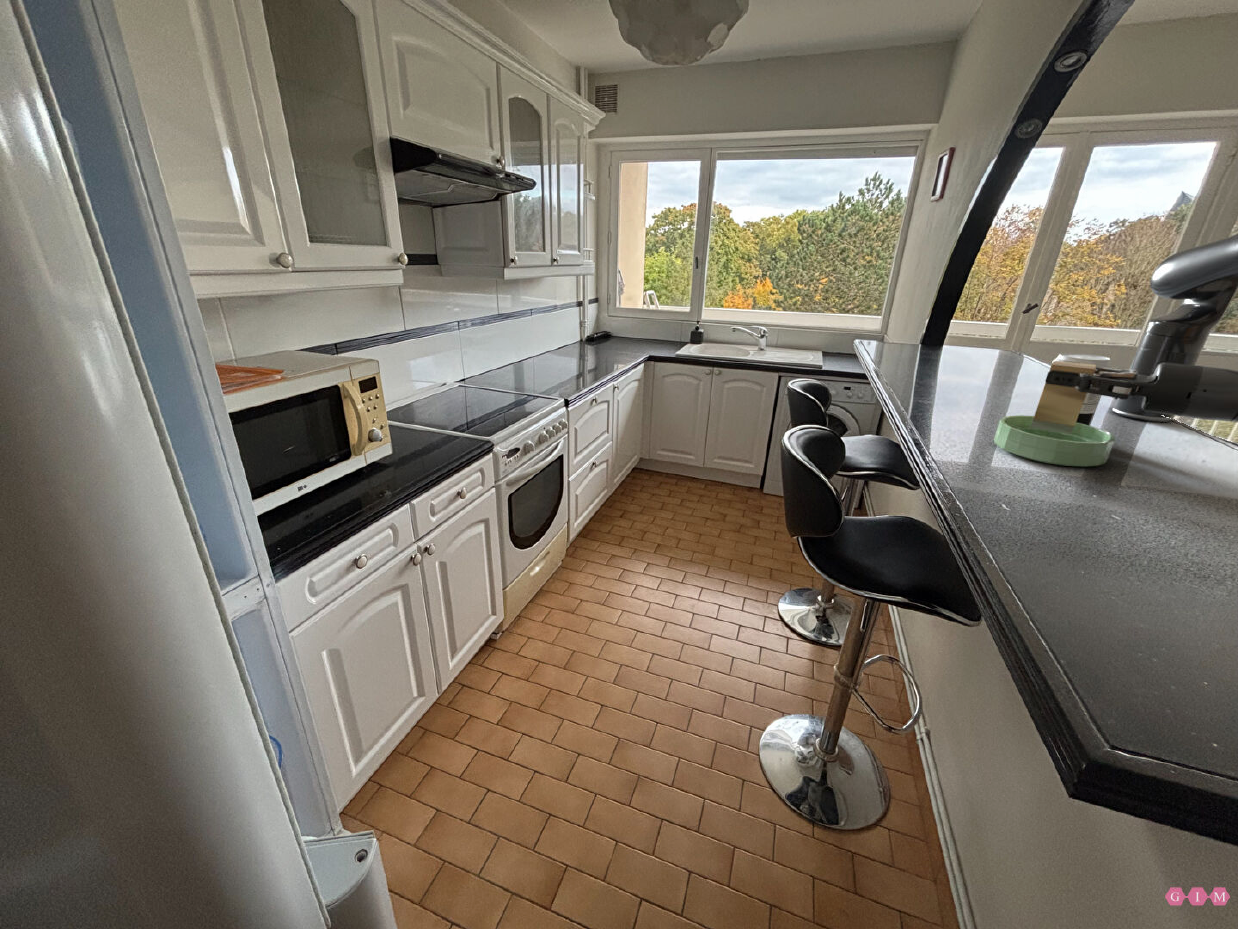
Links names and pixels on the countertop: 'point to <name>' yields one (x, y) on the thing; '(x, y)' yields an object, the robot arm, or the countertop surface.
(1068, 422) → the light brown wooden block
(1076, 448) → the bowl
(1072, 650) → the countertop surface
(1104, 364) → the supplement can
